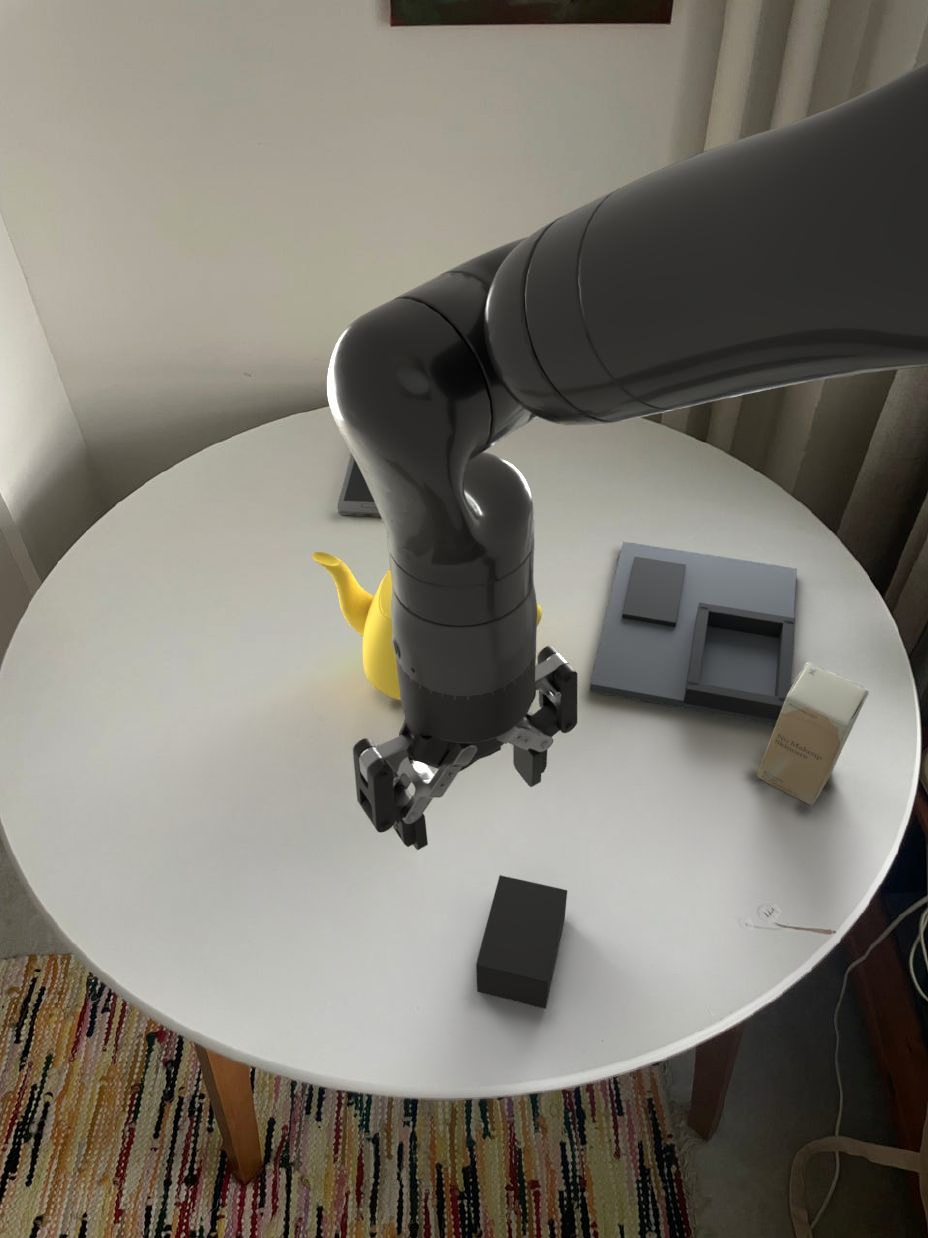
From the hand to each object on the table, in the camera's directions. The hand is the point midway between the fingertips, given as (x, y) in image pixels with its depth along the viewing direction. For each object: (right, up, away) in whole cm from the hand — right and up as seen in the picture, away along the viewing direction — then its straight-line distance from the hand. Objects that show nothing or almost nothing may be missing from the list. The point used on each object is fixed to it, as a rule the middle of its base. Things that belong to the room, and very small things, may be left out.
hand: (472, 805), depth 66 cm
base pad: (+21, +11, +30) cm, 39 cm away
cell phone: (-10, +28, +47) cm, 55 cm away
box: (+27, -1, +19) cm, 33 cm away
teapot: (-3, +7, +28) cm, 29 cm away
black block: (+4, -13, +9) cm, 16 cm away
